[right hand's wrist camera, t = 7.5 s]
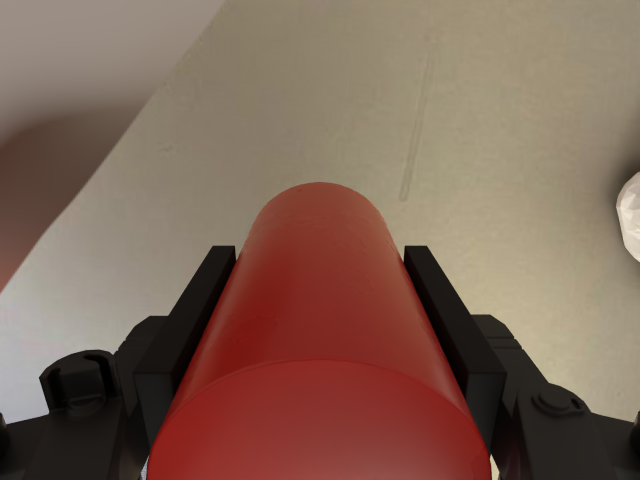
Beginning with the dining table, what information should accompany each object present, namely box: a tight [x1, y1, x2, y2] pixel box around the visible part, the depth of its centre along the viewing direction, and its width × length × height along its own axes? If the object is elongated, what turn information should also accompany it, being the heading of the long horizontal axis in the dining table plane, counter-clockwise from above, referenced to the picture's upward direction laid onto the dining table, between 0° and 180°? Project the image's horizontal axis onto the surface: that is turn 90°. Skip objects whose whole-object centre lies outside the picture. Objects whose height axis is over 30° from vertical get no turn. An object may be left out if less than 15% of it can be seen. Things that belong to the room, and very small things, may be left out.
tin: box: [146, 182, 492, 480], centre depth 12 cm, size 6×6×11 cm
